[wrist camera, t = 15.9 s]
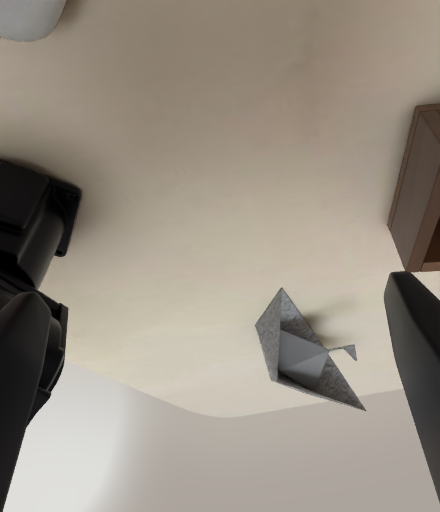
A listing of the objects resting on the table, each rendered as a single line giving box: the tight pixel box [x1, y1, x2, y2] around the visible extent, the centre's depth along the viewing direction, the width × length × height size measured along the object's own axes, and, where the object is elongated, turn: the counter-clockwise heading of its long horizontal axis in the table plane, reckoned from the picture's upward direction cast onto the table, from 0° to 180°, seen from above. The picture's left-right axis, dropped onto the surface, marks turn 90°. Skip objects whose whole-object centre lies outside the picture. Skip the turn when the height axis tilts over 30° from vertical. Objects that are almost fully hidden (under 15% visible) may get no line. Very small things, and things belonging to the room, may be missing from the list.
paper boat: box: [255, 288, 366, 411], centre depth 32 cm, size 12×6×9 cm
